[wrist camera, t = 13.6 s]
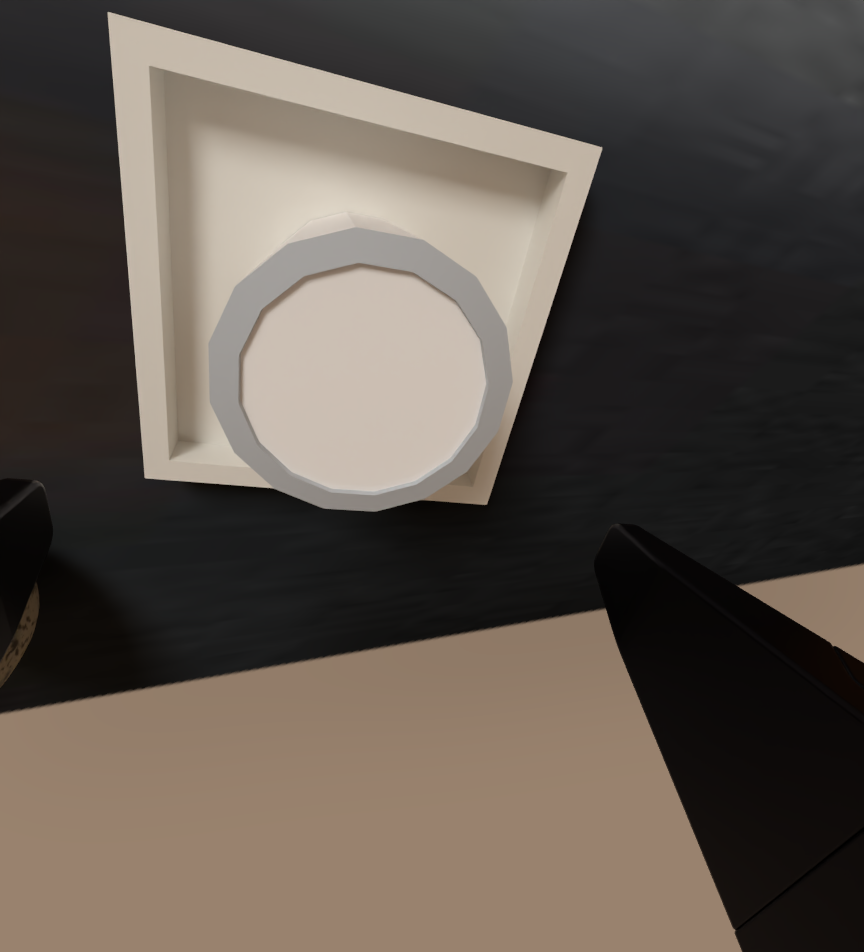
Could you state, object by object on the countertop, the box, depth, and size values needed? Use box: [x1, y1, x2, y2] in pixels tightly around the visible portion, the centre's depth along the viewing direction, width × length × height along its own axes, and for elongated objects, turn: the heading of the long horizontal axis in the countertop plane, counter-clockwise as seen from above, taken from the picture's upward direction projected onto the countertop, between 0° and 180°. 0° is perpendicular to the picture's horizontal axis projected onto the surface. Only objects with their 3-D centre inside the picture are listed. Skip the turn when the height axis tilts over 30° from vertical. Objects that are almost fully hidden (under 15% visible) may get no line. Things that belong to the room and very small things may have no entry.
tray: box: [108, 12, 602, 505], centre depth 18 cm, size 13×13×2 cm
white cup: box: [208, 212, 513, 512], centre depth 15 cm, size 7×7×7 cm
